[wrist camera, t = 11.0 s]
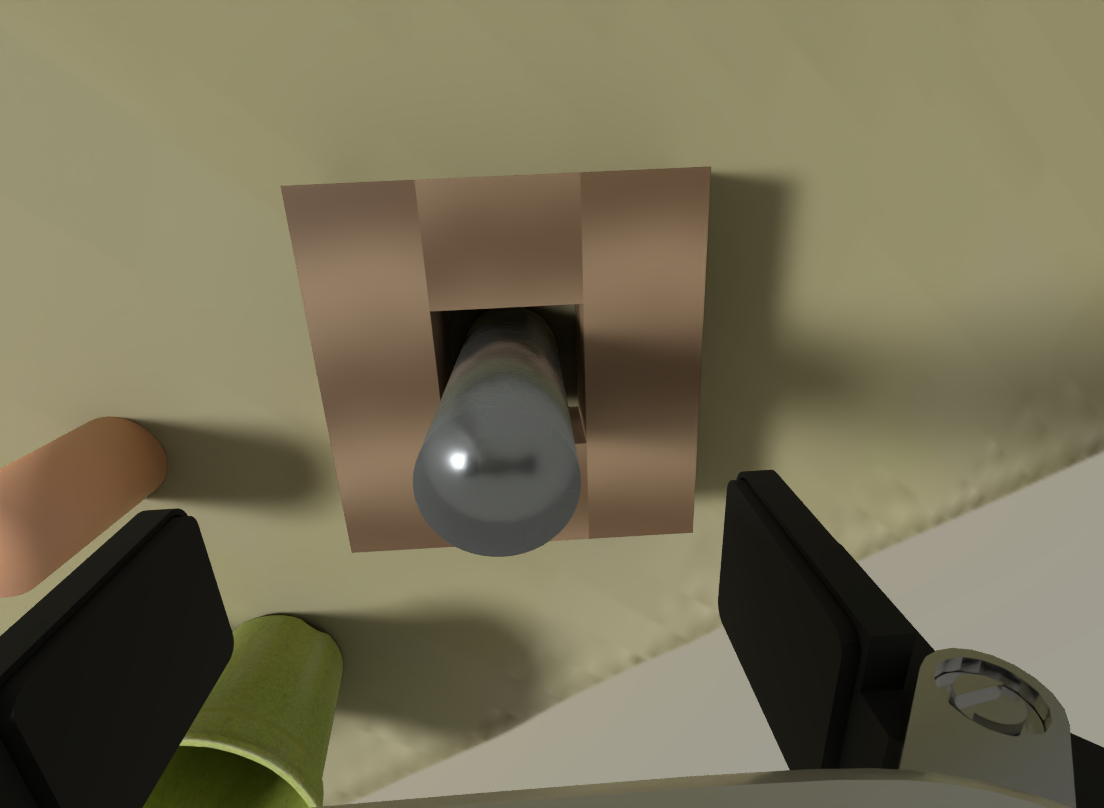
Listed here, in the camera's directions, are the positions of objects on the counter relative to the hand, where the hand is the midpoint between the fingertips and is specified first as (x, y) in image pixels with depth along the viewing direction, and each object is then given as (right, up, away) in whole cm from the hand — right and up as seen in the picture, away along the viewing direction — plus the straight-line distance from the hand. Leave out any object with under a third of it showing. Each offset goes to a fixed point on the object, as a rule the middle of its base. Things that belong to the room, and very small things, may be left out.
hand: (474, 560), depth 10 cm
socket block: (0, +5, +15) cm, 16 cm away
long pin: (0, +5, +15) cm, 16 cm away
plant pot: (-13, -11, +20) cm, 26 cm away
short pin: (-18, 0, +16) cm, 24 cm away
